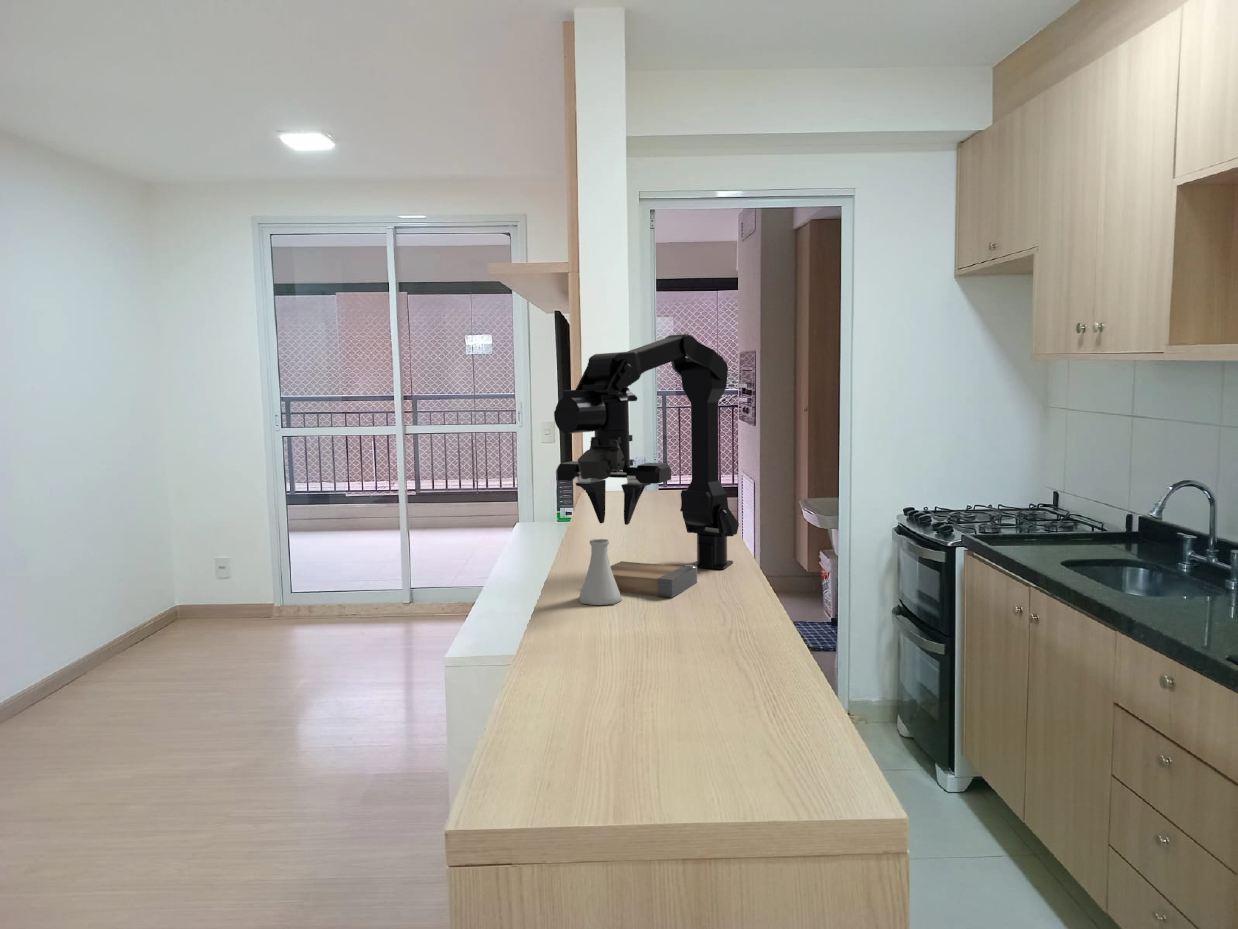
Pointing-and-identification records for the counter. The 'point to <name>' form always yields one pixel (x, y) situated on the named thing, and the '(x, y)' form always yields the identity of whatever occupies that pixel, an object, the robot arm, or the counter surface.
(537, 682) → the counter surface
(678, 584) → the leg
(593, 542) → the flask
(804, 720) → the counter surface
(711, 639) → the counter surface
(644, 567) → the tan square panel
